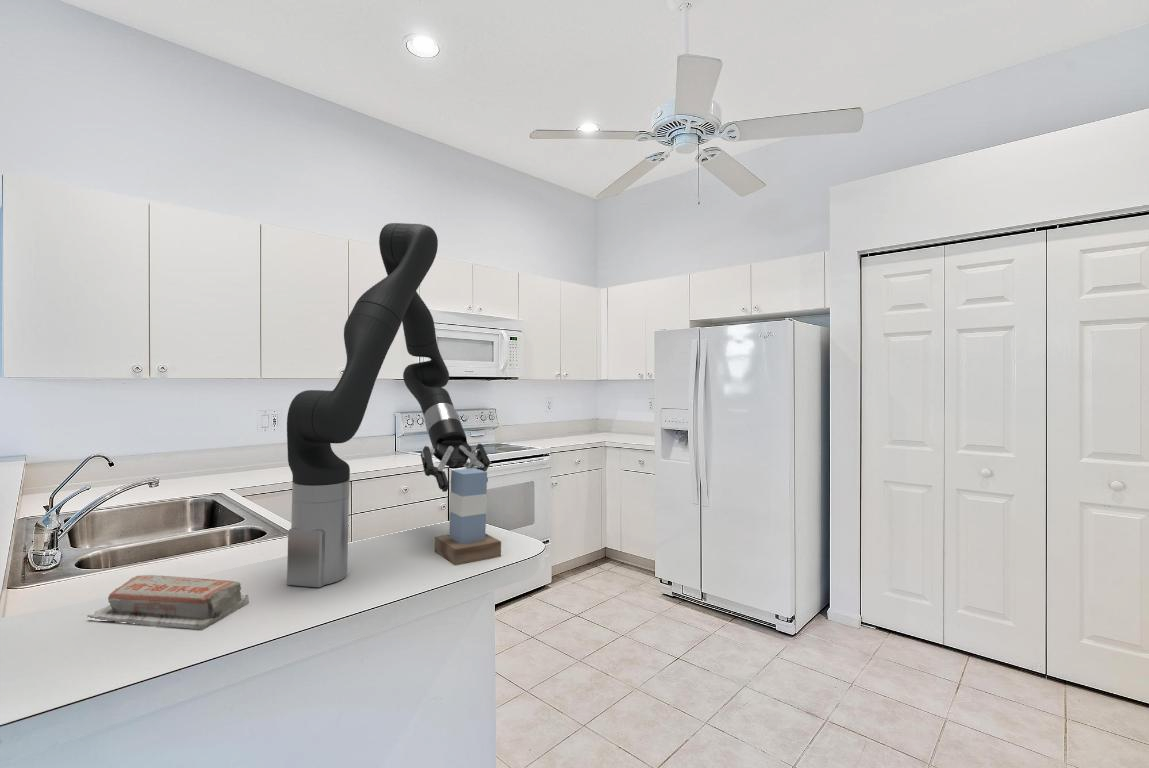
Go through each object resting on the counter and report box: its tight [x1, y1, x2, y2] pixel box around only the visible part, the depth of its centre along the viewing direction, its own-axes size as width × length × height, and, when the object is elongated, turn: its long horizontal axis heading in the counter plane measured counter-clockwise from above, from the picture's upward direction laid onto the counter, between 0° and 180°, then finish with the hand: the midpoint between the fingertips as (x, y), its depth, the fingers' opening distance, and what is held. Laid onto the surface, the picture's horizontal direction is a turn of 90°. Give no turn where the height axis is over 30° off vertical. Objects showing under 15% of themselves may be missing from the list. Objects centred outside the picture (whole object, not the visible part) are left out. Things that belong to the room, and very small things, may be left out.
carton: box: [448, 468, 488, 544], centre depth 112 cm, size 6×6×14 cm
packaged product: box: [87, 574, 250, 630], centre depth 82 cm, size 18×5×10 cm
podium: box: [434, 532, 502, 566], centre depth 112 cm, size 10×10×3 cm
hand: (465, 487), depth 113 cm, fingers open, 8 cm apart
